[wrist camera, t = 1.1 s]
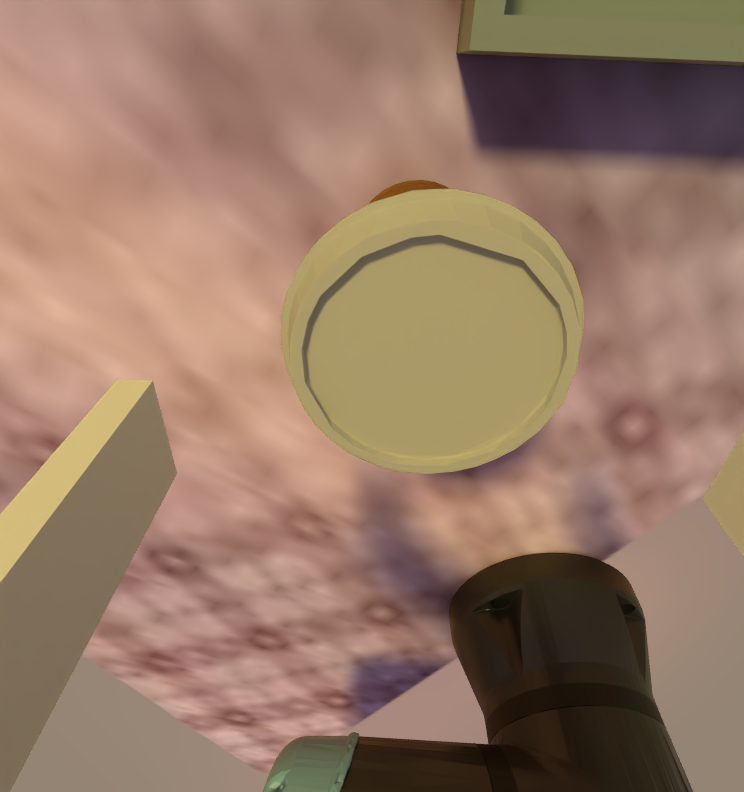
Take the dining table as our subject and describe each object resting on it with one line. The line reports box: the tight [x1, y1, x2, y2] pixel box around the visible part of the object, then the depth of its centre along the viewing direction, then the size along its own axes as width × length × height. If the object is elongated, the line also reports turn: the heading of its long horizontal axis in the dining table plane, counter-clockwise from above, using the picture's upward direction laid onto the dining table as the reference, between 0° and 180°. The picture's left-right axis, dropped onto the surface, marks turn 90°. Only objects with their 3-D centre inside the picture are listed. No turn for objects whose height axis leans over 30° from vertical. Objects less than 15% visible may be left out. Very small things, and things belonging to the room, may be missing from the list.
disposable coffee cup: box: [281, 180, 584, 474], centre depth 19 cm, size 10×10×12 cm
